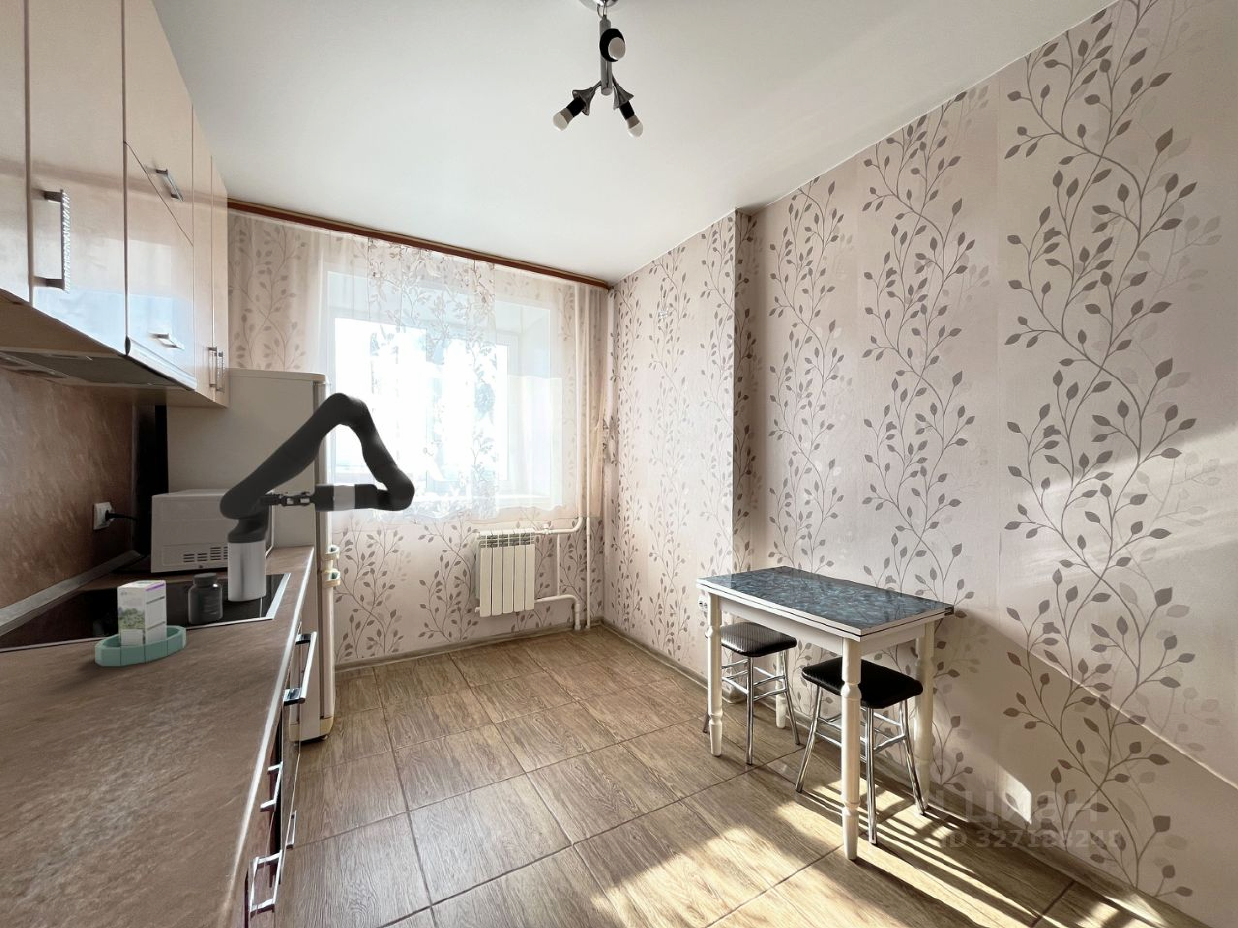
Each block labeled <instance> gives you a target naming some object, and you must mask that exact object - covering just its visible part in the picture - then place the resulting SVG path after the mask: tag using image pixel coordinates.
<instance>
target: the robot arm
mask: <svg viewBox="0 0 1238 928" xmlns="http://www.w3.org/2000/svg"><path fill="white" fill-rule="evenodd" d="M340 425H341V426H345V427H348V428H349V429H350V430H351V431H353V433H354V434H355V436H356V437H357V438H358V440H359V443H360V447H361V453H362V457H363V461H364V463H365V465H366V467H367V468H368V470H369V472H370V473H371V475H372V476H373V478H374V479H375V480H376V481H377V482H378V483H380V484H383V486H384V487H385V489H382V488H378V487H377V486H376V485H375V484H374V483H347V482H346V483H343V482H341V483H317V484H316V483H315V485H314V487H313V488H314V490H313V492H310V491H307V490H298V491H288V492H287V491H286V492H281V493H270V492H271V491H273V490H274V489H276V488H277V487H279V486H281V485H283V484H286V483H288V482H289V481H291V480H293V479H295V478H296V477H297V476H298V475H300V474H301V473H303V472H304V471H305V470H306V469H307V468H308V467H309V466H310V465H311V464H312V463H313V462H315V460H316V459H317V457H318V455H319V451H320V449H321V448H320V447H321V444H322V442H323V440H324V438H325V437H326V436H327V435H328V434H329V433H330V432H331V431H332V430H333V429H334V428H336V427H337V426H340ZM379 433H380V432H379V431H378V429H377V426H376V424H375V422H374V420H373V417H372V415H371V412H370V410H369V408H368V406H367V404H366V403H365V401H364V400H363V399H361V398H359V397H357V396H353V395H351V394H348V393H344V392H335V393H332V394H331V395H329V396H328V397H326V399H325V400H324V401H323V402H322V403H321V404H320V405H319V407H318V408H317V409H316V410H315V411H314V412H313V413H312V415H311V416H310V417H309V418H308V419H307V420H306V421H305V422H304V423H303V424H302V425H301V426H300V427H299V428H298V429H297V430H296V431H295V432H294V433H293V434H292V435H290V437H289V438H288V439H287V440H285V441H284V442H283V443H282V444H280V446H278V448H276V449H275V450H274V451H273V452H272V454H271V455H270V456H269V457H267V458H266V459H265V460H264V461H262V463H261V464H259V466H258V467H256V468H255V469H254V471H252V472H251V473H250V474H249V475H247V476H246V477H245V478H244V479H243V480H241V481H240V482H238V483H237V484H236V485H235V486H233V487H231V488H230V489H229V490H227V492H225V493H224V494H223V496H222V497H221V499H220V501H219V506H218V507H219V512H220V514H221V515H222V516H223V517H224V518H226V519H229V520H234V521H235V520H238V523H237V524H236V526H235V527H234V528H232V529H231V531H229V532H228V533H227V582H228V583H227V591H228V592H227V593H228V594H227V598H228V601H230V602H245V601H252V600H257V599H260V598H263V597H265V596H266V594H267V572H266V571H267V567H266V565H267V564H266V563H267V559H266V553H267V552H266V534H267V532H268V530H269V525H270V523H269V522H270V506H280V507H283V508H286V507H287V508H289V507H290V508H293V507H301V508H302V507H304V508H305V507H308V506H310V505H311V504H313V505H314V512H316V513H327V512H345V511H352V510H353V511H354V510H365V509H366V510H368V509H373V510H379V511H387V512H400V511H404V510H406V509H408V508H409V507H411V505H412V502H413V500H414V496H415V494H416V490H415V486H414V484H413V482H412V480H411V479H410V477H408V476H407V474H406V473H405V472H404V471H403V470H402V469H401V468H400V467H399V466H398V465H397V462H396V461H395V459H394V458H393V457H392V455H391V453H390V452H389V450H388V448H387V447H386V445H385V444H384V442H383V439H382V438H381V435H380V434H379ZM269 493H270V494H269Z"/></svg>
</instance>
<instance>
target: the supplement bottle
mask: <svg viewBox="0 0 1238 928" xmlns="http://www.w3.org/2000/svg"><path fill="white" fill-rule="evenodd" d="M218 580H219V579H218V574H217V573H216V572H207V573H206V572H205V573H199V574H196V575H194V576H193V582H192V583H193V586H191V587H190V588H189V589H188V621H189V623H190V624H192V625H202V624H203V623H205V624H209V623H208V622H210V623H213V622H212V621H214V622H216V620H217V621H219V620H220V619H222V617H223V586H222V584H221V583H219V582H218ZM203 625H204V624H203Z"/></svg>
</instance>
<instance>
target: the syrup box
mask: <svg viewBox="0 0 1238 928" xmlns="http://www.w3.org/2000/svg"><path fill="white" fill-rule="evenodd" d="M116 590H117V614H118V615H117V618H118V619H117V621H118V622H117V624H118V634H119V647H129V646H136V645H143V644H148V643H152V642H156V641H159V640H163V639H166V638H167V626H168V625H167V585H166V580H137V581H132V582H129V583H126V584H123V585H121V586H117V589H116Z"/></svg>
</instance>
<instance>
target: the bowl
mask: <svg viewBox="0 0 1238 928" xmlns="http://www.w3.org/2000/svg"><path fill="white" fill-rule="evenodd" d="M166 626H167V638H166V639H163V640H159V641H156V642H152V643H148V644H143V645H136V646H129V647H119V633H116V634H114V635H111V636H109V637H106V638H103V639H101V640H100V641H99V642H98V643H96V644H95V646H94V661H95V662H94V663H96V664H97V665H98V666H101V667H123V666H130V665H136V664H141V663H147V662H151V661H154V660H157V659H161V658H164V657H165V658H166V657H168V655H169V656H171V655H173V654H175V653H176V652H179V651H181V650H184V647H185V646H186V644H187V633H186V632H187V628H185V627H183V626H180V625H166ZM180 649H181V650H180ZM178 650H179V651H178ZM174 652H175V653H174ZM172 653H173V654H172ZM170 654H171V655H170Z"/></svg>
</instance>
